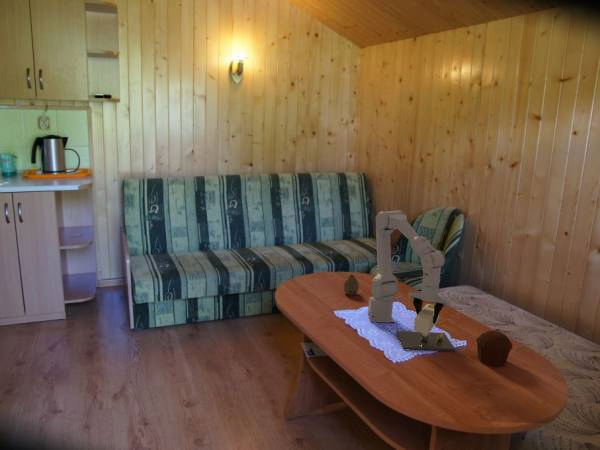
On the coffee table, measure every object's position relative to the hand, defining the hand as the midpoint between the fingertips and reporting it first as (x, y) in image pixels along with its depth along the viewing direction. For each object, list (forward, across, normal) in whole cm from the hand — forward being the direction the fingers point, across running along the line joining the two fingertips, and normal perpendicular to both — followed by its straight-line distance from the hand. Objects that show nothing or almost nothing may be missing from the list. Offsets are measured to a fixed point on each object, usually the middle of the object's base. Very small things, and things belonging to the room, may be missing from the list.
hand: (426, 320), depth 178 cm
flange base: (+8, 0, 0) cm, 8 cm away
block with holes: (+2, 0, -1) cm, 2 cm away
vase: (+9, +42, -30) cm, 53 cm away
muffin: (+9, -23, 0) cm, 25 cm away
